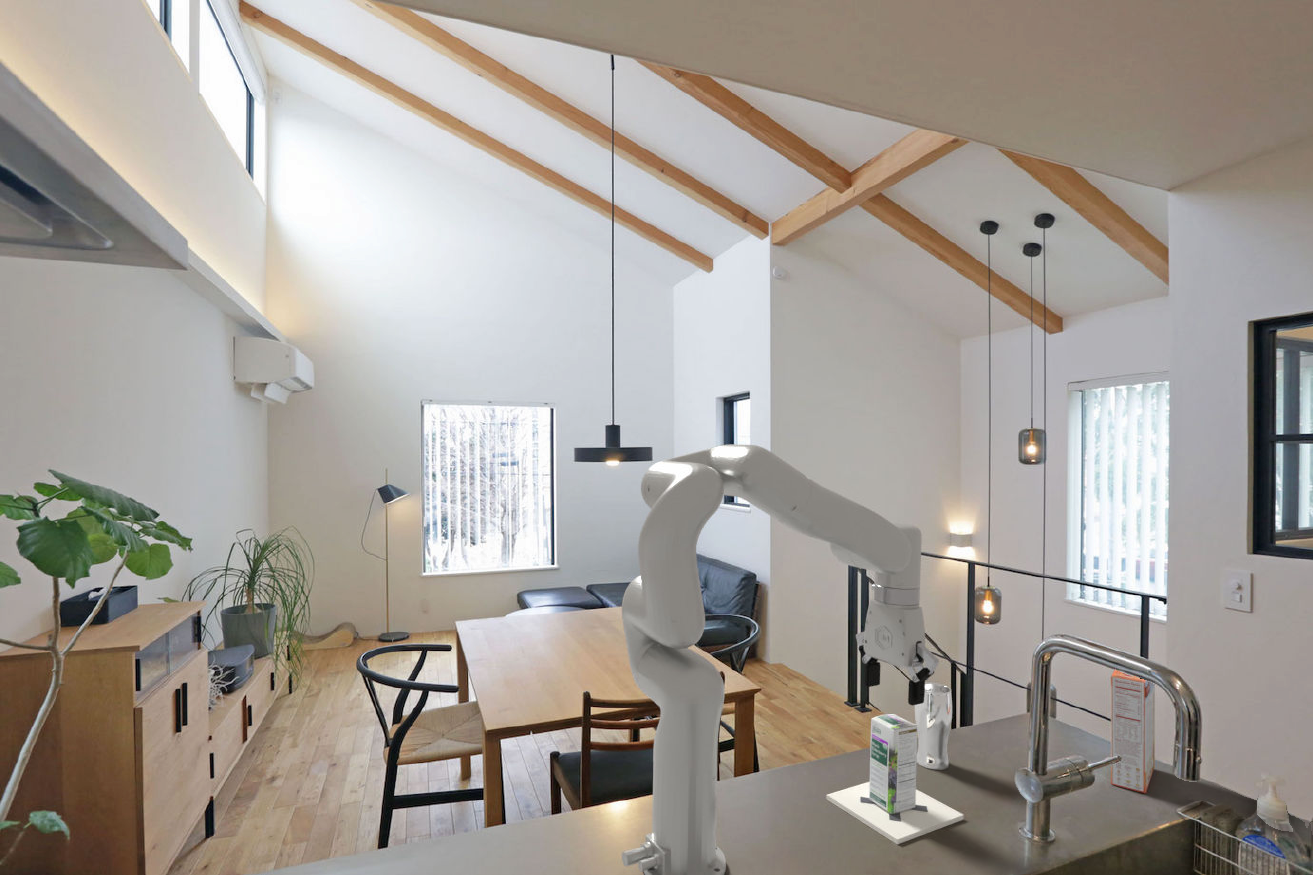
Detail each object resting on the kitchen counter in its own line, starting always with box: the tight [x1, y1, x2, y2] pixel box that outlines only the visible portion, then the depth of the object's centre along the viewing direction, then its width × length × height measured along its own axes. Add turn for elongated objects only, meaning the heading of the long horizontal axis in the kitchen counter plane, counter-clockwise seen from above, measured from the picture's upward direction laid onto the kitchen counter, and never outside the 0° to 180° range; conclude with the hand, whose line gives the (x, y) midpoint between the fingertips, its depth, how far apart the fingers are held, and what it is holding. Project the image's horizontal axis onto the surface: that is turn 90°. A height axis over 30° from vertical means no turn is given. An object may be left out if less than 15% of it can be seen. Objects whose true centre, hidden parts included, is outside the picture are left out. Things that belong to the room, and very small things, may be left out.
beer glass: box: [914, 681, 953, 771], centre depth 142 cm, size 7×7×15 cm
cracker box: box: [1110, 669, 1156, 794], centre depth 138 cm, size 14×6×21 cm, turn 139°
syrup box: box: [869, 713, 918, 814], centre depth 124 cm, size 6×6×14 cm
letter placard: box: [826, 781, 964, 845], centre depth 124 cm, size 16×16×1 cm
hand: (893, 694), depth 124 cm, fingers open, 9 cm apart
